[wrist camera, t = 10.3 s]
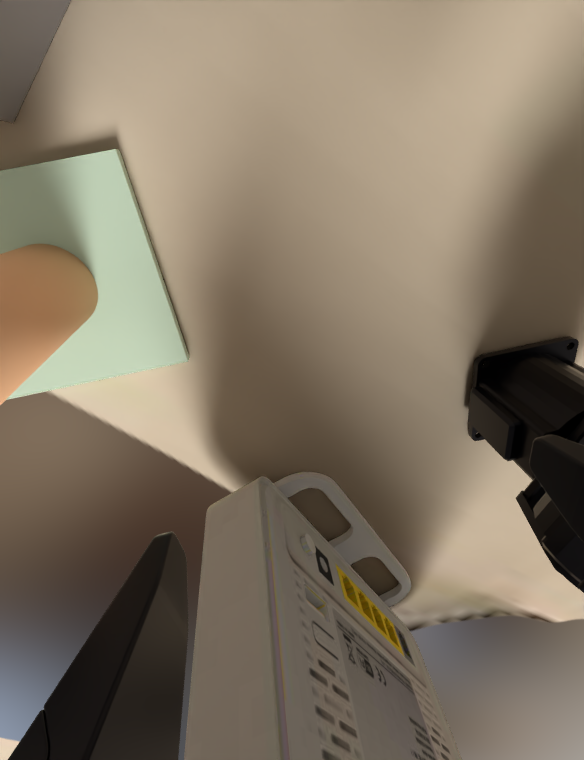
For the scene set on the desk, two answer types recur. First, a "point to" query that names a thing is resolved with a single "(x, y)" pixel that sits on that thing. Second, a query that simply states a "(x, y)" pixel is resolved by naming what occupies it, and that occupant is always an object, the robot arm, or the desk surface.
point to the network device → (304, 640)
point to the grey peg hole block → (24, 47)
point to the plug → (39, 308)
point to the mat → (94, 267)
